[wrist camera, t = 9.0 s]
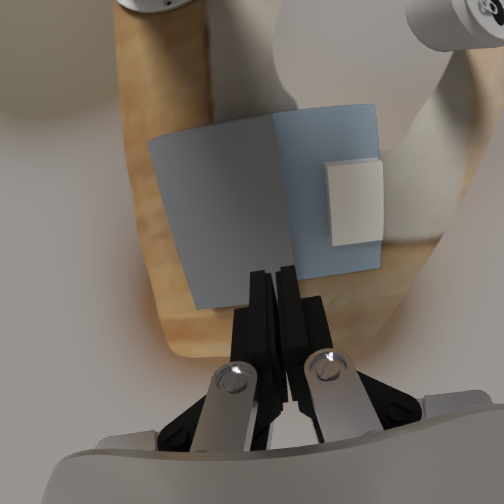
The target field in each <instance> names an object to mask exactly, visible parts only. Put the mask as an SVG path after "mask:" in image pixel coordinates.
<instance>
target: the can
mask: <svg viewBox="0 0 504 504" xmlns="http://www.w3.org/2000/svg"><path fill="white" fill-rule="evenodd" d="M406 17H407V21H408V24H409V26H410V28H411V30H412V32H413V33H414V35H416V37H417V38H418V39H419V41H420V42H422V43H423V44H425V45H426V46H427V47H428V48H431V49H433V50H435V51H442V52H448V51H457V50H468V49H480V48H496V47H500V46H504V0H409V1H408V3H407V5H406Z"/></svg>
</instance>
